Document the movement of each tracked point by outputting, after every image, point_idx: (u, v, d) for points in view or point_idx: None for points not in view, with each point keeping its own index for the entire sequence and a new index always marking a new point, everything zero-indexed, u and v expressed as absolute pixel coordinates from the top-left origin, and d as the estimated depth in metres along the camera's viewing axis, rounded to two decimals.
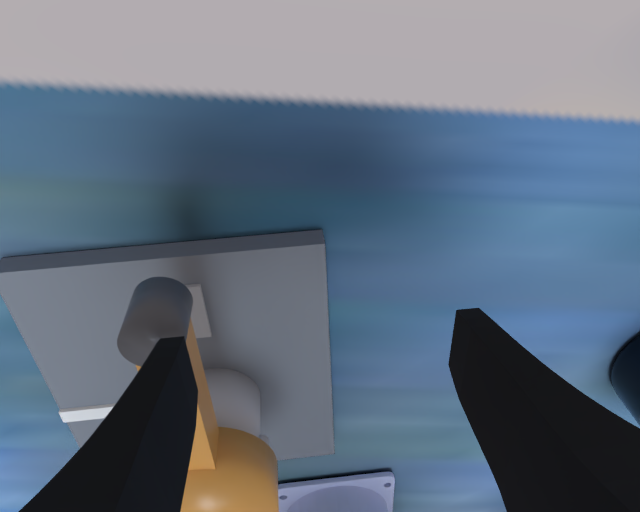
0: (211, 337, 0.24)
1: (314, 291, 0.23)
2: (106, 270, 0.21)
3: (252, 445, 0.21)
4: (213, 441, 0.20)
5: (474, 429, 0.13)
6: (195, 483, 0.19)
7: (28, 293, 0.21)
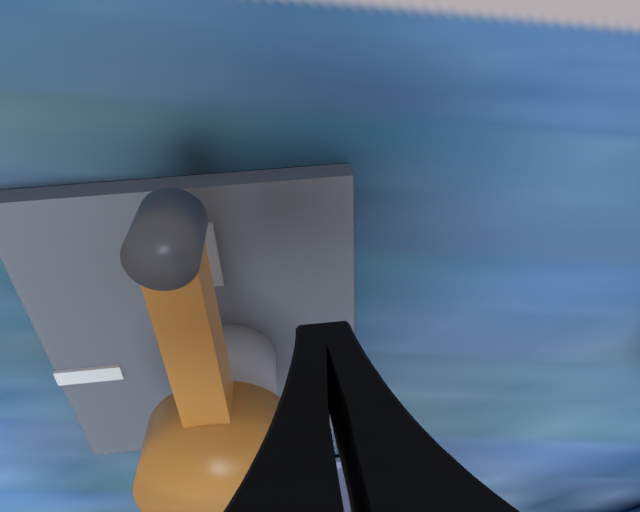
0: (223, 287, 0.21)
1: (339, 233, 0.20)
2: (107, 203, 0.19)
3: (271, 402, 0.19)
4: (228, 392, 0.17)
5: (337, 444, 0.12)
6: (208, 439, 0.16)
7: (19, 230, 0.19)
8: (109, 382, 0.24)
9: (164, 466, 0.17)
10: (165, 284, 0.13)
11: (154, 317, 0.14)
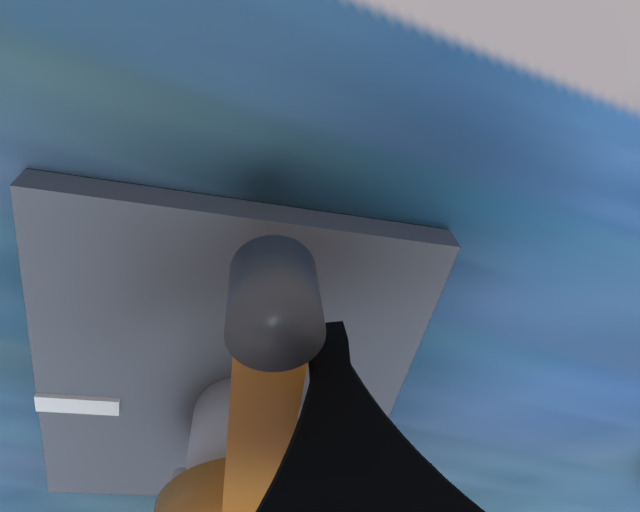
0: None
1: (420, 303, 0.18)
2: (176, 218, 0.15)
3: None
4: None
5: None
6: None
7: (55, 226, 0.15)
8: (98, 416, 0.20)
9: None
10: (269, 364, 0.10)
11: (235, 397, 0.11)
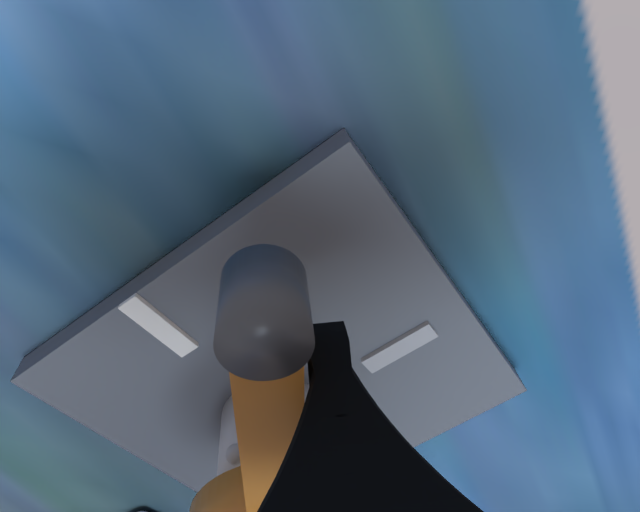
0: (365, 372, 0.20)
1: (468, 409, 0.22)
2: (415, 252, 0.17)
3: None
4: None
5: None
6: None
7: (337, 192, 0.15)
8: (159, 345, 0.18)
9: None
10: (264, 373, 0.10)
11: (238, 407, 0.11)
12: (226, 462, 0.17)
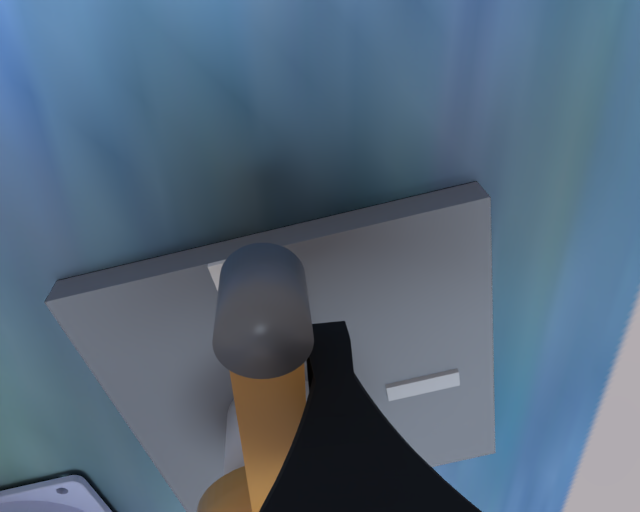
0: (382, 398, 0.21)
1: (442, 457, 0.23)
2: (483, 307, 0.19)
3: None
4: None
5: None
6: None
7: (456, 234, 0.17)
8: None
9: None
10: (264, 371, 0.10)
11: (240, 406, 0.11)
12: None
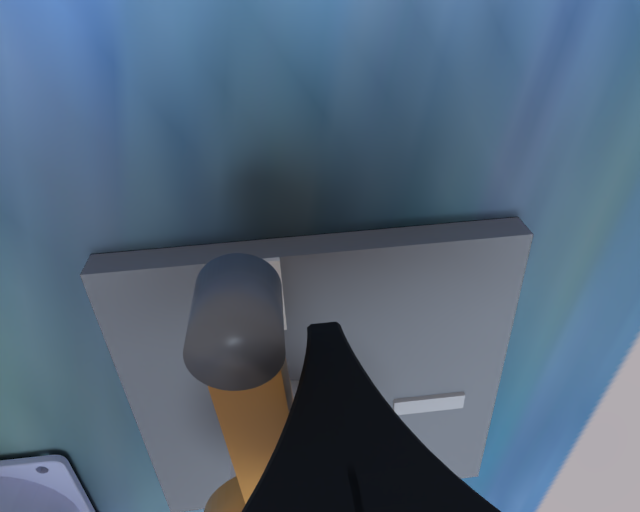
0: None
1: None
2: (501, 336, 0.19)
3: None
4: None
5: None
6: None
7: (494, 265, 0.17)
8: None
9: None
10: (240, 383, 0.10)
11: (223, 417, 0.11)
12: None
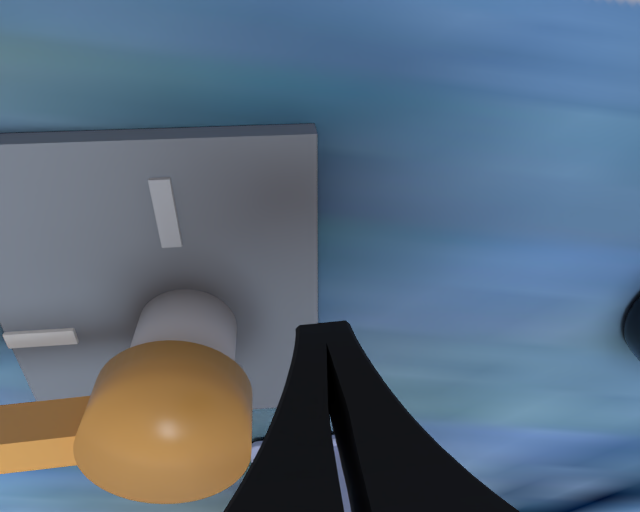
0: (182, 249, 0.21)
1: (302, 196, 0.20)
2: (59, 152, 0.18)
3: (101, 375, 0.18)
4: (58, 423, 0.18)
5: (337, 444, 0.12)
6: (76, 462, 0.17)
7: None
8: (62, 347, 0.23)
9: (123, 487, 0.18)
10: None
11: None
12: None
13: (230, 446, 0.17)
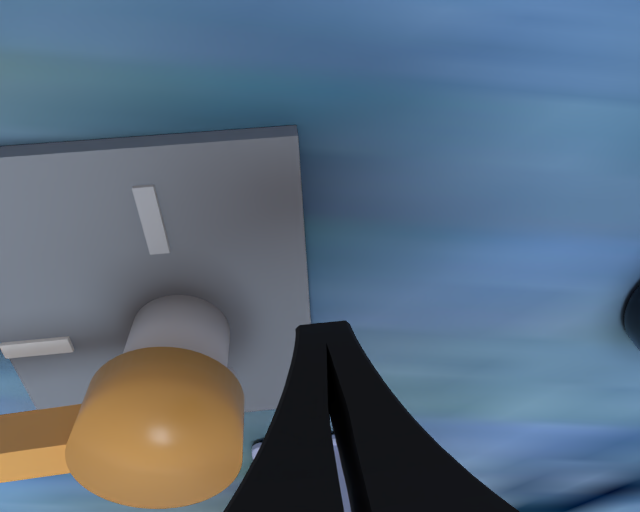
0: (170, 255, 0.21)
1: (287, 198, 0.20)
2: (42, 164, 0.18)
3: (92, 383, 0.18)
4: (51, 431, 0.18)
5: (336, 444, 0.12)
6: (69, 470, 0.17)
7: None
8: (59, 356, 0.23)
9: (117, 493, 0.18)
10: None
11: None
12: None
13: (221, 450, 0.18)
